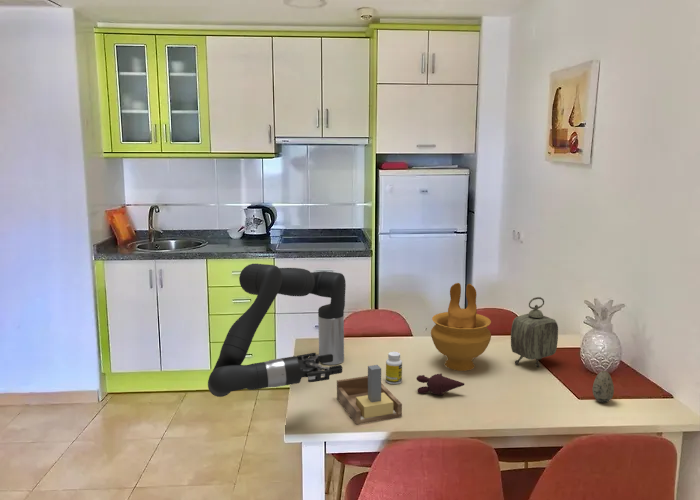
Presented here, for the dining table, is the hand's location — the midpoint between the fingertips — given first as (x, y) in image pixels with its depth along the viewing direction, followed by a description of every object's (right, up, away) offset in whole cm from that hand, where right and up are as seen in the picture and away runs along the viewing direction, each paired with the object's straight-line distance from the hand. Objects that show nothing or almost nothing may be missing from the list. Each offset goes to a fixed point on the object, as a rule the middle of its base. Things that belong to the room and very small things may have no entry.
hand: (337, 363), depth 163 cm
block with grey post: (+11, -15, +4) cm, 19 cm away
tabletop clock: (+70, -9, +41) cm, 82 cm away
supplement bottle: (+18, -12, +28) cm, 35 cm away
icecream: (+32, -14, +18) cm, 39 cm away
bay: (+9, -15, +9) cm, 20 cm away
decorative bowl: (+43, -9, +42) cm, 61 cm away
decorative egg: (+81, -14, +12) cm, 83 cm away
